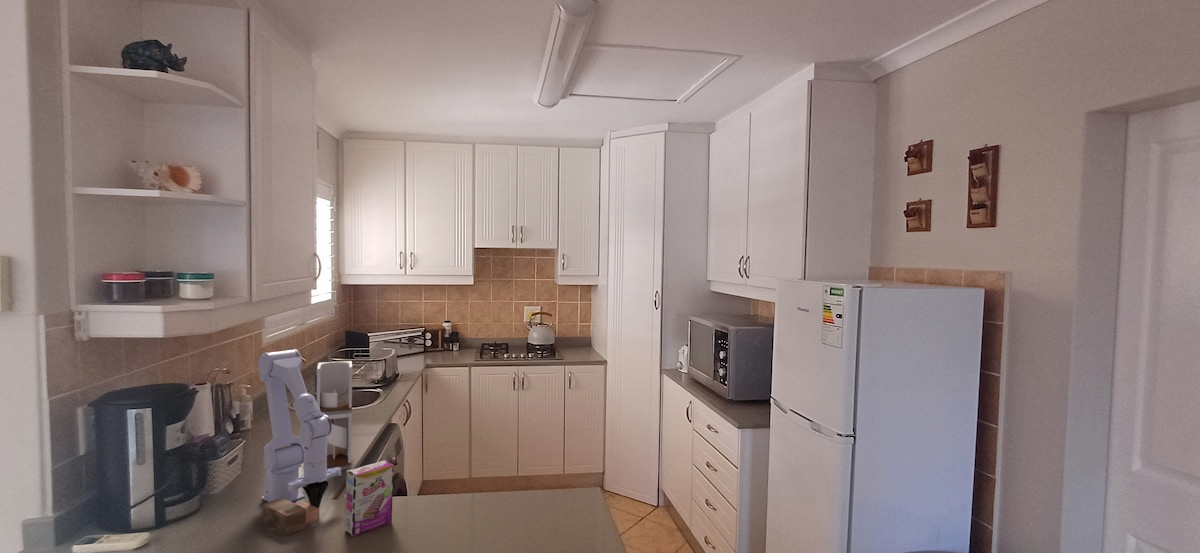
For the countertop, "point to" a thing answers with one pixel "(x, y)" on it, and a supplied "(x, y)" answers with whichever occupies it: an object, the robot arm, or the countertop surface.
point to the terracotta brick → (310, 512)
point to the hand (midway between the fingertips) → (315, 507)
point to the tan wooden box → (284, 516)
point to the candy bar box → (368, 497)
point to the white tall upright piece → (336, 409)
